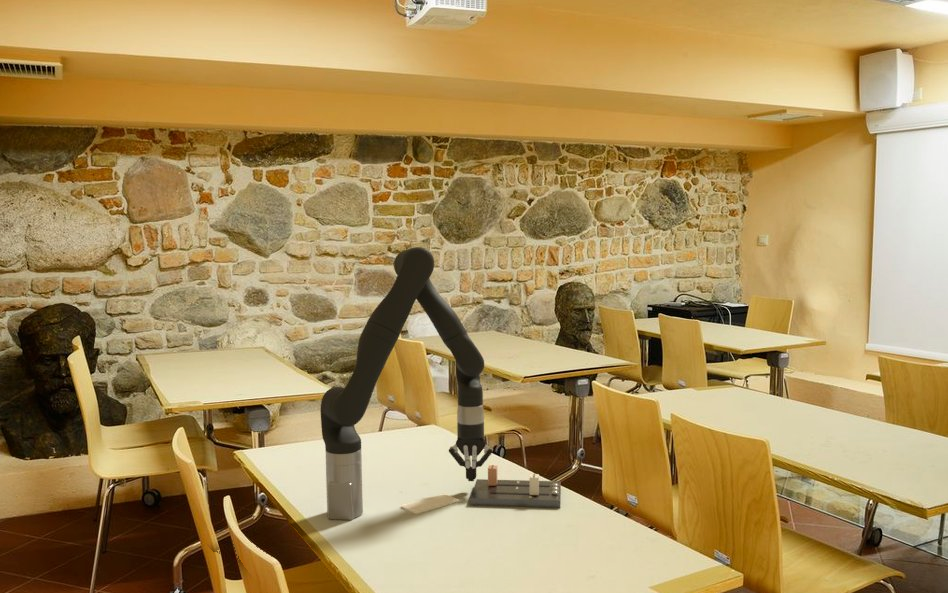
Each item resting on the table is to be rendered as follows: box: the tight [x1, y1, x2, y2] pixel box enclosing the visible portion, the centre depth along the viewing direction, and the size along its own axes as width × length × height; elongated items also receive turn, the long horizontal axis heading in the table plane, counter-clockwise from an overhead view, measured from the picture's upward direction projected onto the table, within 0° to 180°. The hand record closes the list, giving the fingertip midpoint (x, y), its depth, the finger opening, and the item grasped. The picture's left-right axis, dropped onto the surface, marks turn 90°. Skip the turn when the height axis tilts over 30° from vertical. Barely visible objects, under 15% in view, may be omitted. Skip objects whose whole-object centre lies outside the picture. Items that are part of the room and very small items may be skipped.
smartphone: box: [400, 493, 460, 515], centre depth 218 cm, size 7×1×15 cm
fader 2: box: [529, 473, 540, 495], centre depth 218 cm, size 3×2×5 cm
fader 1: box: [487, 464, 498, 486], centre depth 227 cm, size 3×2×5 cm
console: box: [469, 478, 562, 509], centre depth 223 cm, size 16×24×3 cm, turn 84°
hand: (471, 480), depth 228 cm, fingers closed
